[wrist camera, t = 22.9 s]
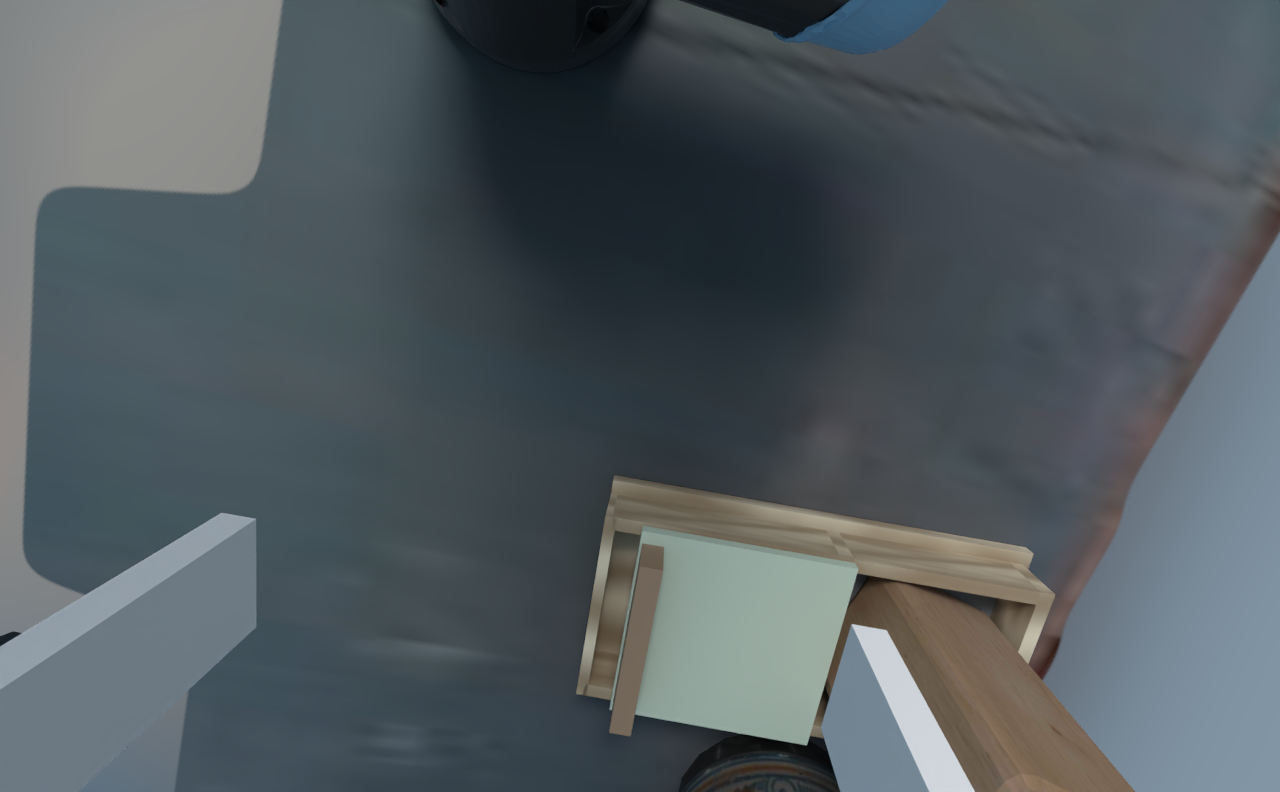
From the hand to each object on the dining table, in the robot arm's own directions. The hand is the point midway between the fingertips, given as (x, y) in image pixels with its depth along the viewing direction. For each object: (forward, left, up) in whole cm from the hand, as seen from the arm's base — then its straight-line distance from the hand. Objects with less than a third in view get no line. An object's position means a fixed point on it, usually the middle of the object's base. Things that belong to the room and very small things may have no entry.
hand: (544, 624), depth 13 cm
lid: (+18, +10, -26) cm, 33 cm away
